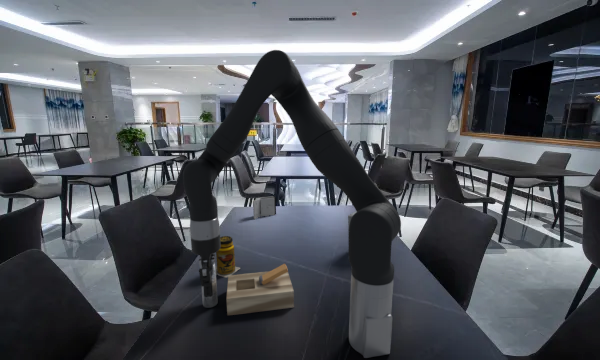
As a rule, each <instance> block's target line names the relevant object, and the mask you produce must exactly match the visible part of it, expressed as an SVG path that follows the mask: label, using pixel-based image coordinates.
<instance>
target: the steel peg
mask: <svg viewBox="0 0 600 360" xmlns="http://www.w3.org/2000/svg"><path fill="white" fill-rule="evenodd" d="M215 267H216V261H215V262H214V274H213V275H212V281H213V283H212V289H213V295H212V296H211V297H205V296H204V287H203V286H201V285H200V286H201V296H202V306H203V307H204V308H209V309H210V308H213V307H215V306H217V304H218V299H219V298H218V286H217V284H218V283H217V274H216V269H215ZM210 272H211V270H210Z"/></svg>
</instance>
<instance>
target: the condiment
mask: <svg viewBox="0 0 600 360" xmlns="http://www.w3.org/2000/svg"><path fill="white" fill-rule="evenodd" d="M233 240H234V239H233V237H232V236H228V235H224V236H220V243H221V248H220V249H219V251H217V252H215V260H216V266H215V269H216V276H217V275H218V276H220V277H223V278H227V279H228V275H234V274H235V273H236V272H238V270H240V269H241V267H239V266H236V257H235V245H234V242H233Z"/></svg>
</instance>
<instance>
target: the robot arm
mask: <svg viewBox="0 0 600 360" xmlns="http://www.w3.org/2000/svg"><path fill="white" fill-rule="evenodd" d="M269 97H273V98H274V99H275V100H276V101H277V102H278V104H279V105H280V106H281V107H282V109H284V111H285V113H286V114H287V115H288V116H289V119H291V122H292V124H293V127H294V131H295V133H296V136H297V138H298V140H299V143H300V144H301V147H302V148H303V150H304V152H305V154H306V155H307V156H308V158H309V160H310V161H311V163H312V164H313V165H314V167H315V168H316V169H317V171H318V172H319V173H320V174H321V175H323V176H324V177H325V179H327V180H329V182H331V183H332V184H334V185H335V186H336V187H337V188H339V190H341V191H342V192H343V193H344V194H345V196H346V197H347V198H348V200H349V201H350V203H351V204H352V206H353V207H354V210H355V211H357V212H356V213H355V214H354V215H353V216H352V218H351V221H350V224H349V235H348V261H349V264H350V267H351V268H350V269H351V271H350V272H351V273H350V275H351V276H350V294H349V295H350V296H349V319H348V320H349V324H348V342H349V344H350V346H351V347H352V348H353V349H354V350H355V352H358V354H360V355H362V356H363V358H364V359H368V358H373V357H380V356H385V355H390V353H391V346H392V345H391V343H392V332H393V331H392V329H393V316H392V308H393V307H392V306H393V292H394V279H395V266H394V264H393V262H392V259H391V258H392V242H393V241H394V240H395V238H396V237H397V236H398V235H399V234H400V232H401V228H402V222H401V216H400V214H399V212H398V210H397V209H396V208H395V206H394V205H393V204H392V202H390V200H389V198H387V197H386V196H385V194H384V193H383V192H382V191H381V190H380V188H379V187H378V186H377V185H376V183H375V182H374V181H373V180H372V179H371V177H370V176H369V174H368V173H367V171H366V169H365V168H364V166H363V165H362V163H361V161H360V159H359V158H358V157H357V156H356V154H355V153H354V151H353V150H352V148H351V147H350V145H349V143H348V141H347V140H346V139H345V137H344V136H343V134H342V132H341V131H340V130H339V128H338V127H337V125H336V124H335V123H334V121H333V120H332V119H331V118H330V117H329V116H328V114H326V112H325V111H324V110H323V109H322V108H321V107H320V106H319V105H318V104H317V103H316V102H315V100H314V98H313V97H312V95H311V93H310V92H309V89H308V88H307V86H306V84H305V82H304V80H303V77H302V76H301V73H300V72H299V69H298V68H297V66H296V65H295V63H294V62H293V60H292V59H291V57H290V55H288V54H287V53H286V52H284V51H283V50H280V49H273V50H272V49H271V50H270V51H267V52H266V53H265V54H263V55H262V56H261V57H260V59H259V60H258V62H257V63H256V65H255V66H254V69H253V70H252V72H251V74H250V76H249V78H248V80H247V81H246V83H245V85H244V86H243V88H242V91H241V92H240V94H239V96H238V98H237V100H236V101H235V103H234V104H233V106H232V107H231V110H230V111H229V113H228V114H227V115H226V117H225V118H224V119H223V121H222V122H221V123H220V124H219V126H218V127H217V129H216V130H215V131H214V132H213V134H212V135H211V136H210V138H209V139H208V140H207V143H206V146H205V149H204V150H203V151H202V153H201V154H200V156H199V157H198V158H197V159H195V160H194V161H190V162H189V163H187V164H186V165H185V167H184V169H183V172H182V184H183V189H184V192H185V195H186V198H187V202H188V204H189V205H188V206H189V207H188V208H189V232H190V234H189V235H190V246H191V247H190V248H191V252H192V253H193V254H194V255H196V256H199V259H198V266H199V270H198V273H199V278H200V279H199V280H200V286H203V287H204V296H205V297H211V296H212V295H213V289H212V283H213V281H212V275H213V274H214V262H215V263H216V252H217V251H219V249H220V248H221V243H220V237H221V230H220V221H219V214H218V212H219V211H218V210H219V209H218V202H217V198H216V196H215V195H213V188H212V183H214V182H215V180H216V179H217V178H218V177H219V175H220V174H221V172H222V171H223V169H224V168H225V167H226V165H227V164H228V162H229V160H230V159H231V158H232V157H233V156H234V155H235V154H236V152H237V151H238V150H239V149H240V147H241V146H242V145H243V143H245V141H246V139H247V138H248V136H249V134H250V132H251V130H252V127H253V124H254V121H255V119H256V116H257V115H258V112H259V111H260V109H261V107H262V106H263V104H264V103H265V102H266V101H267V99H268V98H269ZM210 270H211V272H210Z"/></svg>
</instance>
